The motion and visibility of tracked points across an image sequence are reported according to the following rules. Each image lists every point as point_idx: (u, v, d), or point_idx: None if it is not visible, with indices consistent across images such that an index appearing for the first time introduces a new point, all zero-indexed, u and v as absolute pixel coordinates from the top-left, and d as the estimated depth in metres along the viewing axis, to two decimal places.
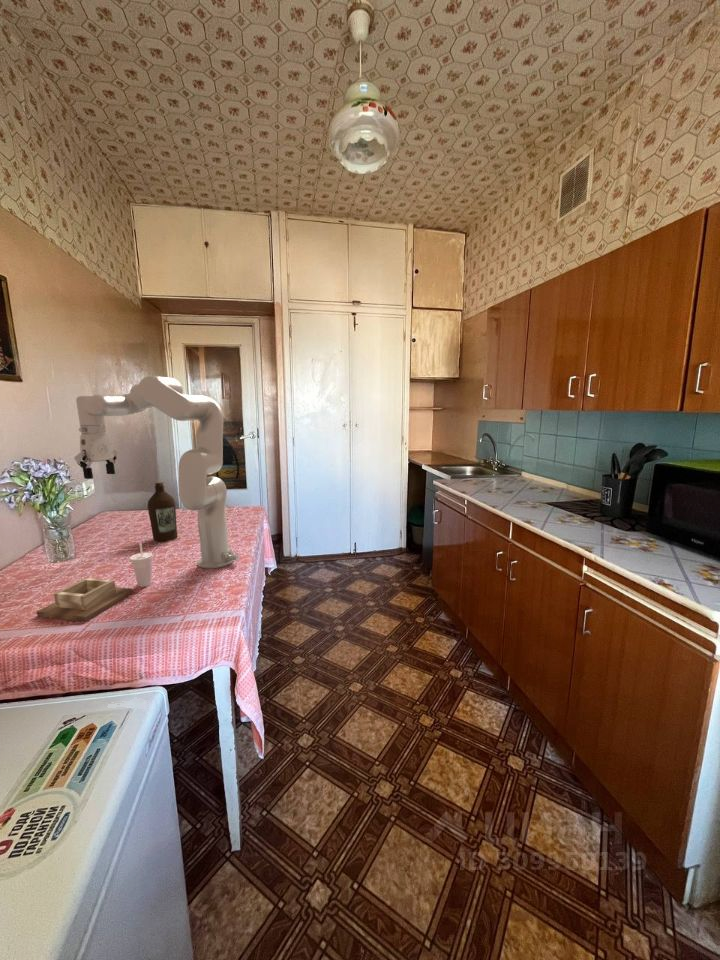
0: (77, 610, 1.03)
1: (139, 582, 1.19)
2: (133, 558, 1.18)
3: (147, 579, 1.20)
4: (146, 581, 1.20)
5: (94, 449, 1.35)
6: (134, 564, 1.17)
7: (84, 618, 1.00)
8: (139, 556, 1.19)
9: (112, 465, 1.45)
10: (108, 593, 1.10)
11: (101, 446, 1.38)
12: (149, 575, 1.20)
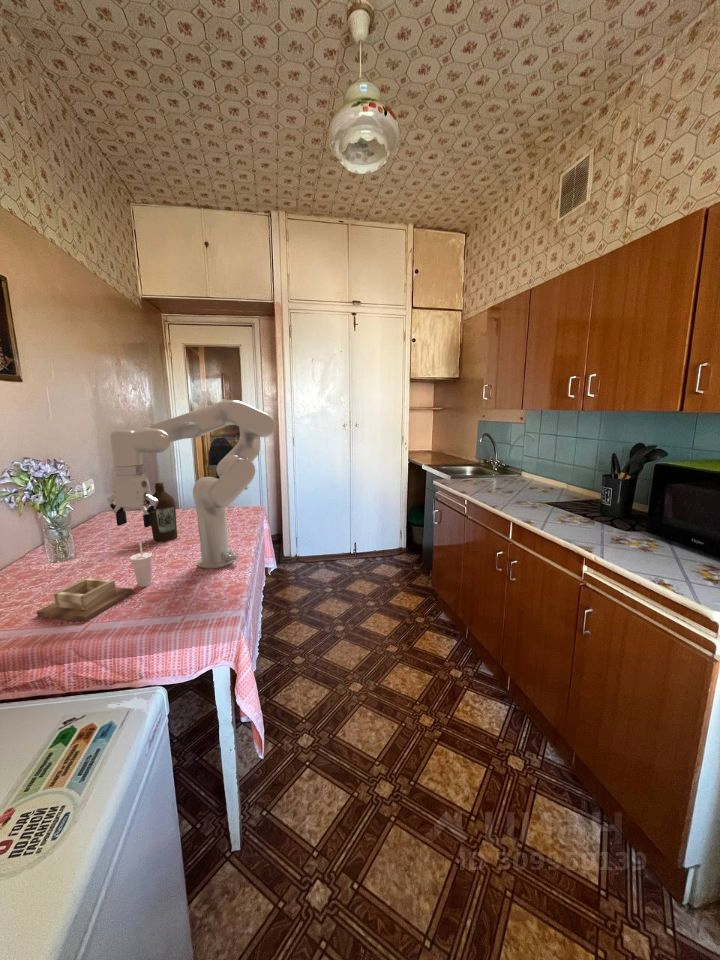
0: (77, 610, 1.03)
1: (139, 582, 1.19)
2: (133, 558, 1.18)
3: (147, 579, 1.20)
4: (146, 581, 1.20)
5: None
6: (134, 564, 1.17)
7: (84, 618, 1.00)
8: (139, 556, 1.19)
9: (124, 512, 1.19)
10: (108, 593, 1.10)
11: None
12: (149, 575, 1.20)
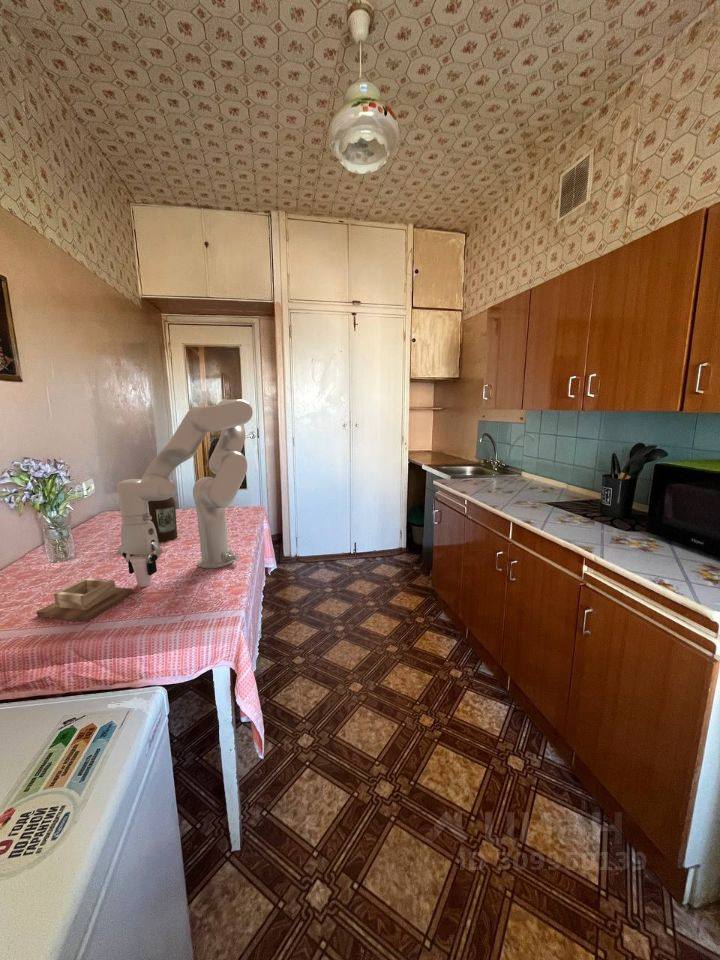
0: (77, 610, 1.03)
1: (139, 582, 1.19)
2: (133, 558, 1.18)
3: (147, 579, 1.20)
4: (146, 581, 1.20)
5: None
6: (134, 564, 1.17)
7: (84, 618, 1.00)
8: (139, 556, 1.19)
9: None
10: (108, 593, 1.10)
11: None
12: (149, 575, 1.20)
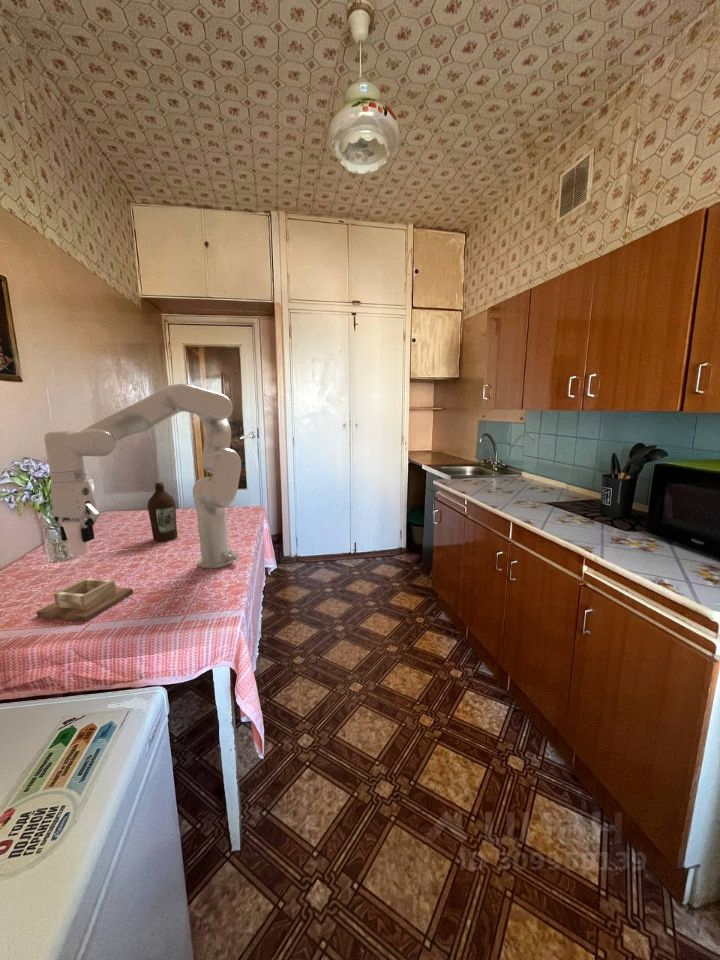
0: (77, 610, 1.03)
1: (73, 550, 1.04)
2: (65, 522, 1.03)
3: (82, 547, 1.05)
4: (81, 549, 1.05)
5: None
6: (66, 529, 1.03)
7: (84, 618, 1.00)
8: (72, 520, 1.04)
9: None
10: (108, 593, 1.10)
11: None
12: (85, 542, 1.05)
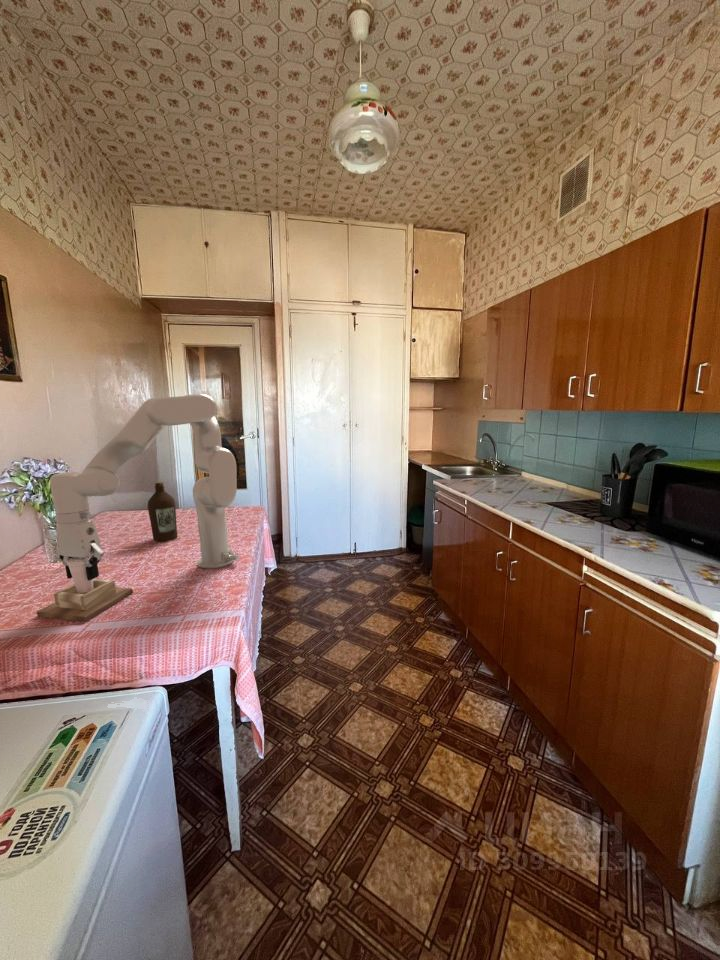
0: (77, 610, 1.03)
1: (78, 588, 1.06)
2: (70, 561, 1.05)
3: (87, 585, 1.07)
4: (85, 587, 1.07)
5: None
6: (71, 568, 1.04)
7: (84, 618, 1.00)
8: (77, 559, 1.06)
9: None
10: (108, 593, 1.10)
11: None
12: (89, 580, 1.07)
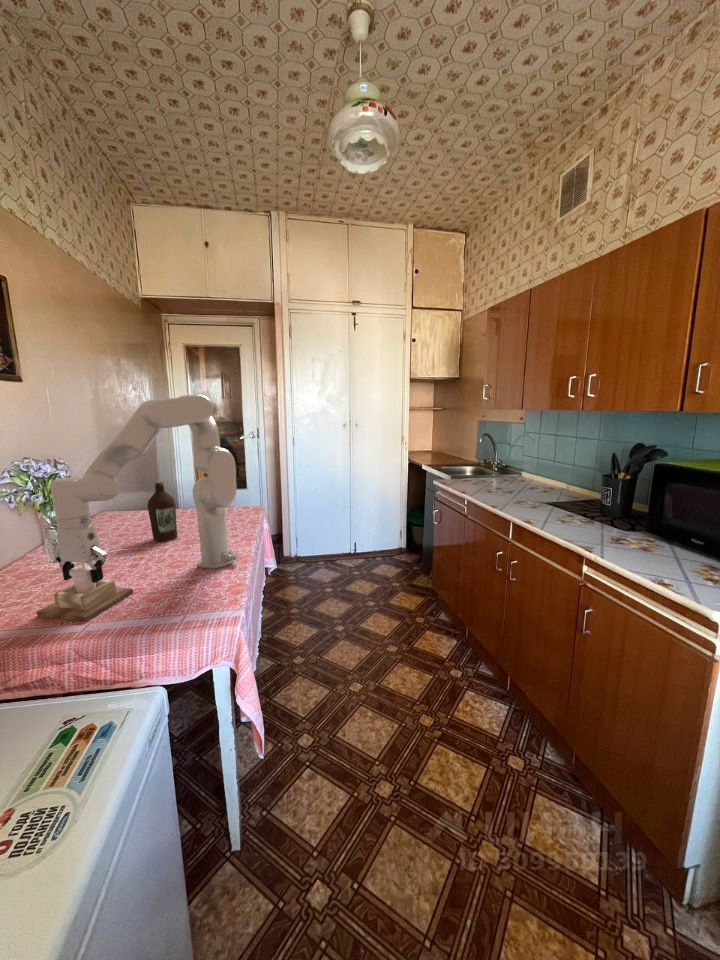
0: (77, 610, 1.03)
1: None
2: (73, 571, 1.05)
3: None
4: None
5: None
6: (74, 577, 1.05)
7: (84, 618, 1.00)
8: (80, 568, 1.07)
9: (73, 565, 1.09)
10: (108, 593, 1.10)
11: None
12: (92, 589, 1.08)
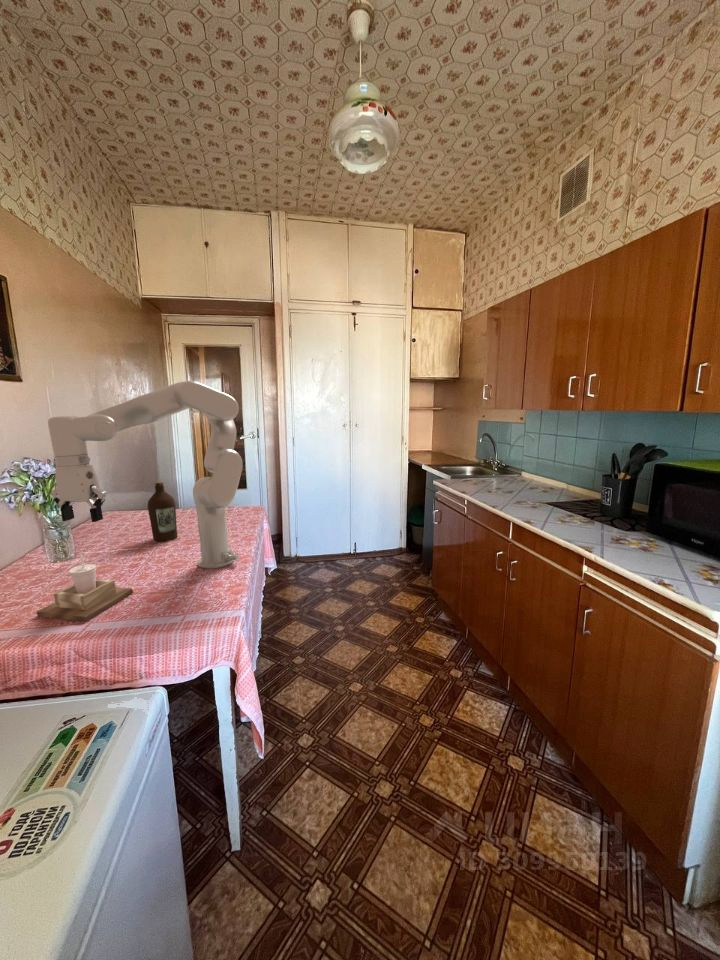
0: (77, 610, 1.03)
1: None
2: (73, 571, 1.05)
3: None
4: None
5: None
6: (74, 578, 1.05)
7: (84, 618, 1.00)
8: (80, 568, 1.06)
9: (71, 507, 1.10)
10: (108, 593, 1.10)
11: None
12: (92, 589, 1.08)
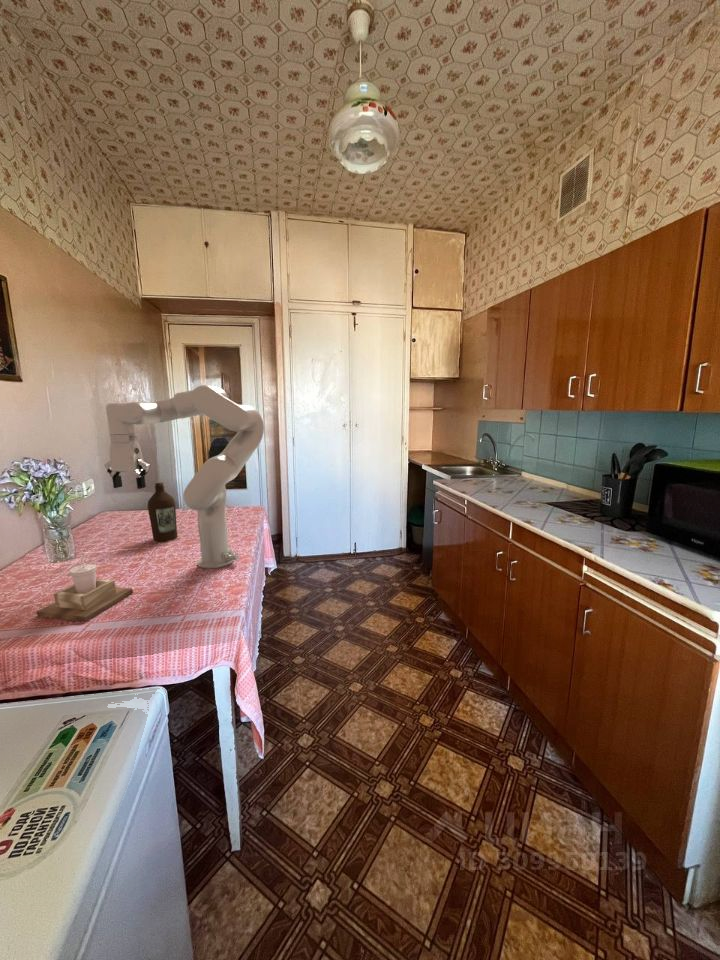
0: (77, 610, 1.03)
1: None
2: (73, 571, 1.06)
3: None
4: None
5: None
6: (74, 577, 1.05)
7: (84, 618, 1.00)
8: (80, 568, 1.07)
9: (120, 477, 1.35)
10: (108, 593, 1.10)
11: None
12: (92, 589, 1.08)
